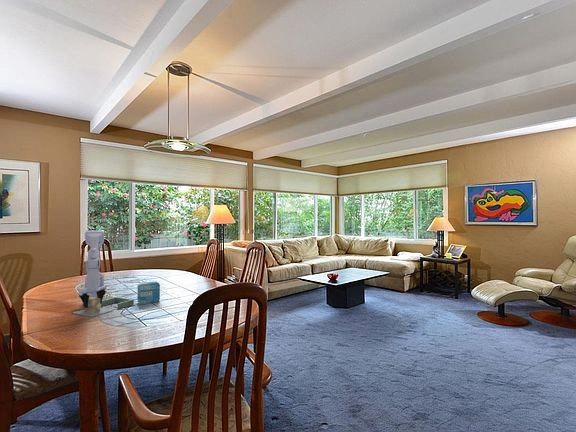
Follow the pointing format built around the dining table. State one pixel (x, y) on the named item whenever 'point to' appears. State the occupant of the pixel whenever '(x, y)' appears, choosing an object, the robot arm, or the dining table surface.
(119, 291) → the dining table surface
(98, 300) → the block
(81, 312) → the rubber mat
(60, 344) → the dining table surface
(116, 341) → the dining table surface
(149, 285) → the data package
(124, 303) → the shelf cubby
